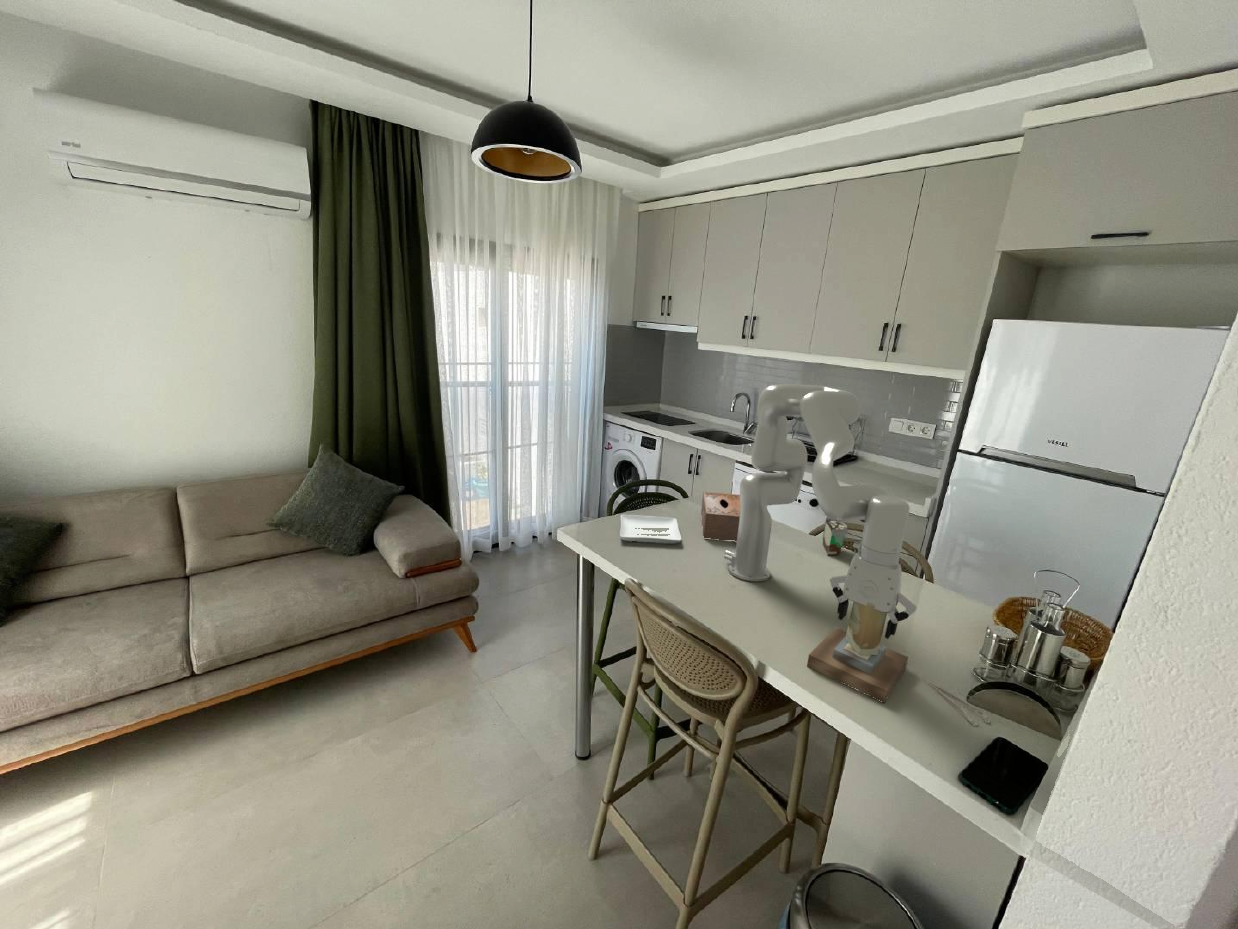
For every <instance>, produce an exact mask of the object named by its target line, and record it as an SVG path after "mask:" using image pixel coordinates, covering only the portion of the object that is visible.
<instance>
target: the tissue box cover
mask: <svg viewBox="0 0 1238 929" xmlns="http://www.w3.org/2000/svg"><path fill="white" fill-rule="evenodd" d="M702 492H703V493H702V500H701V510H700V516H701V515H702V520H701V527H702V526H703V530H702V537H703V536H704V538H711V539H719V540H735V541H737V535H738V527H739V518H740V494H737V493H736V494H733V493H724V492H723V493H722V492H711V491H702Z"/></svg>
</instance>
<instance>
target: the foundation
mask: <svg viewBox="0 0 1238 929" xmlns="http://www.w3.org/2000/svg"><path fill="white" fill-rule="evenodd" d="M846 634H847V630H844V629H841V628H839V627H837V626H836V627H834V629H833V630H831V632H829V633H828V635H827V636H825V638H823V640H822V641H821V642H819V644H818V645H817V646H816V647H815V648H814V649H813V650H812V651H811V652H810V653H809V654H808V657H807V658H808V659H807V664H806V667H807V668H809V669H811V670H813V669H814V671H815V670H816V672H817V673H820V674H822V675H823V676H826V675H827V676H826V677H828V676H829V677H828V678H830V677H831V678H830V679H832V678H834V679H835V680H834V679H833V680H834V681H836V680H838V681H840V682H843V683H845V684H846V685H845V684H844V685H845V686H847V685H849V686H850V687H849V686H848V687H849V688H851V687H853V688H856V689H858V690H859V691H861V692H863V693H865V694H868V695H870V696H871V697H874V698H876V699H878V700H880V701H882V702H885V703H886V701H887V700H888V698H889V697H890V695H889V694H891V693H892V692H891V691H893V690H894V688H896V686H897V683H898V681H899V680H900V679H899V678H901V677H902V675H903V674H904V672H905V671H904V670H906V668H907V664H908V660H909V657H908V656H907V655H904V654H902V653H900V652H897V651H895V650H892V649H890V648H888V647H887V646H886V645H883V644H881V643H880V646H879V650H878V654H877V655H859V654H858V653H857V652H856V650H855V649H854V648H853V647H852V646H851V644H850V643H849V642H848V641H847V639H846ZM838 681H837V682H838ZM840 682H839V683H840ZM853 688H852V689H853ZM892 689H893V690H892ZM859 691H858V692H859ZM861 692H860V693H861ZM863 693H862V694H863ZM865 694H864V695H865ZM871 697H870V698H871ZM887 697H888V698H887ZM874 698H873V699H874ZM876 699H875V700H876ZM886 699H887V700H886ZM878 700H877V701H878ZM880 701H879V702H880ZM882 702H881V703H882Z"/></svg>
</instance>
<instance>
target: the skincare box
mask: <svg viewBox="0 0 1238 929" xmlns="http://www.w3.org/2000/svg"><path fill="white" fill-rule="evenodd" d="M852 602H853V601H852ZM874 608H875V606H874V605H871V604H868V603H867V606H864V605H861V604H858V603H856V602H853V603H852V606H851V612H850V614H849V615H850V617H849V621H848V626H847V630H846V631H847V634H846V639H847V641H848V642H849V643H850V644H851V646H852V647H853V648H854V649H855V650H856V652H857V653H858V654H859V655H877V654H878V650H879V646H880V644H881V641H882V638H883V633H884V630H885V623H886V619H887V616H888V614H887V613H883V612H880V611H877V610H875V609H874Z"/></svg>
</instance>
